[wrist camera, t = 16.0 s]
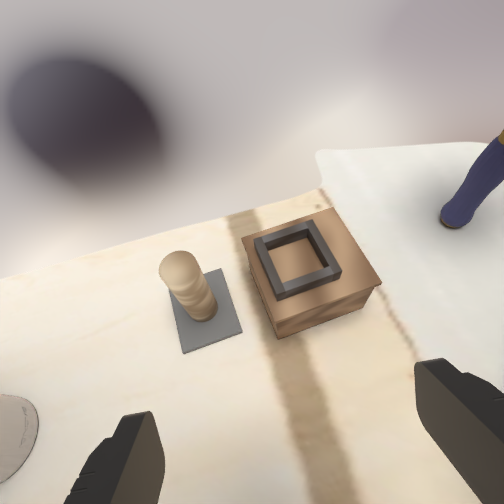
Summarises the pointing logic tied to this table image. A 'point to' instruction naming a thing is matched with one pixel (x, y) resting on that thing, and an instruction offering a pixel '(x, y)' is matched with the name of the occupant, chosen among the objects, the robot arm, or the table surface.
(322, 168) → the table surface
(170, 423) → the table surface
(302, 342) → the table surface
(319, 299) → the wooden box
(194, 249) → the table surface
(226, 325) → the rubber mat
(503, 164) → the rubber mallet
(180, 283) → the wooden cylinder
